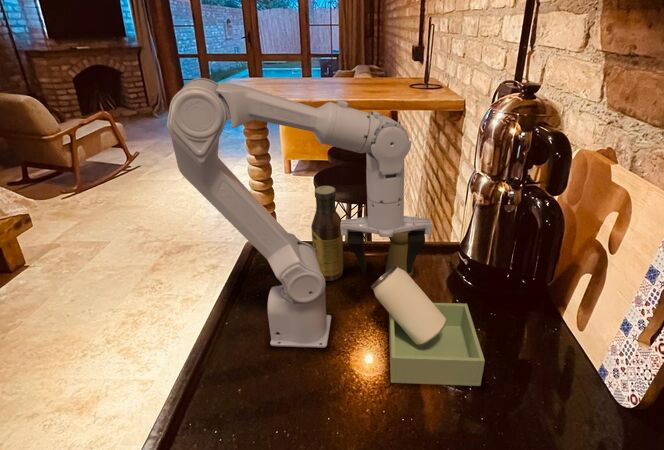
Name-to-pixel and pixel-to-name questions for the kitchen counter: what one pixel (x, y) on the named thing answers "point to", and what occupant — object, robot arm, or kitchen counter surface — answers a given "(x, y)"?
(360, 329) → the kitchen counter surface
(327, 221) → the sauce bottle
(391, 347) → the bin
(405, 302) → the can
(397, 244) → the olive game pawn
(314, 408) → the kitchen counter surface
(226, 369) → the kitchen counter surface
